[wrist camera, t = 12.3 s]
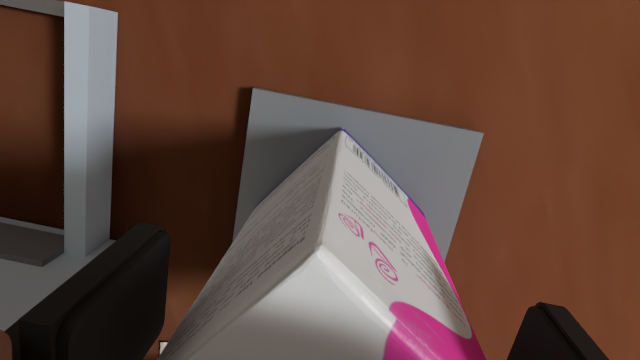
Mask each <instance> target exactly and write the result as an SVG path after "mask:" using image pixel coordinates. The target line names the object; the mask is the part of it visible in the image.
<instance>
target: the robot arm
mask: <svg viewBox="0 0 640 360" xmlns="http://www.w3.org/2000/svg"><path fill="white" fill-rule="evenodd" d="M169 249H170V234H169V233H164V228H163V227H162V226H158V225H153V224H148V223H143V222H139V223H137V224H136V225H135V226H134V227H132V228H131V229H130V230H129V231H127V232H126V233H125V234H124V235H123V236H121V237H120V238H119V239H118V240H116V241H115V242H114V243H113V244H111V245H110V246H109V247H108V248H106V249H105V250H104V251H103V252H101V253H100V254H99V255H98V256H96V257H95V258H94V259H93V260H91V261H90V262H89V263H88V264H86V265H85V266H84V267H83V268H82V269H80V270H79V271H78V272H77V273H75V274H74V275H73V276H72V277H70V278H69V279H68V280H67V281H65V282H64V283H63V284H62V285H60V286H59V287H58V288H57V289H55V290H54V291H53V292H52V293H50V294H49V295H48V296H47V297H45V298H44V299H43V300H42V301H40V302H39V303H38V304H37V305H36V306H34V307H33V308H32V309H31V310H29V311H28V312H27V313H26V314H24V315H23V316H22V317H21V318H19V319H18V321H16V322H15V323H14V324H13V325H11V326H10V327H9V328H8V329H6V330H5V331H2V330H0V360H142V359H143V358H144V356H145V355H146V353H147V352H148V350H149V349H150V348H151V346H152V345H153V343H154V342H155V340H156V339H157V337H158V336H159V334H160V332H161V330H162V327H163V324H164V318H165V305H166V291H167V277H168V263H169ZM507 360H609V359H608V358H607V357H606V355H605V354H604V353H603V352H602V351H601V349H600V348H599V347H598V346H597V345H596V343H595V342H594V341H593V340H592V339H591V337H590V336H589V335H588V334H587V333H586V331H585V330H584V329H583V328H582V327H581V326H580V324H579V323H578V322H577V321H576V320H575V318H574V317H573V316H572V315H571V314H570V312H569V311H568V310H567V309H566V308H565V307H562V306H557V305H552V304H547V303H542V302H539V303H537V304H536V305H535V306H534V307H533V306H532V307H529V308H528V310H527V312H526V314H525V317H524V319H523V322H522V324H521V326H520V329H519V331H518V334H517V336H516V339H515V341H514V344H513V346H512V348H511V351H510V353H509V356H508V358H507Z"/></svg>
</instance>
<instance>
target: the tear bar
mask: <svg viewBox="0 0 640 360" xmlns="http://www.w3.org/2000/svg"><path fill="white" fill-rule="evenodd" d="M0 5H5V6H10V7H15V8H21V9H26V10H31V11H36V12H41V13H46V14H52V15H57V16H62V17H64V2H62V1H57V0H0Z"/></svg>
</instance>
